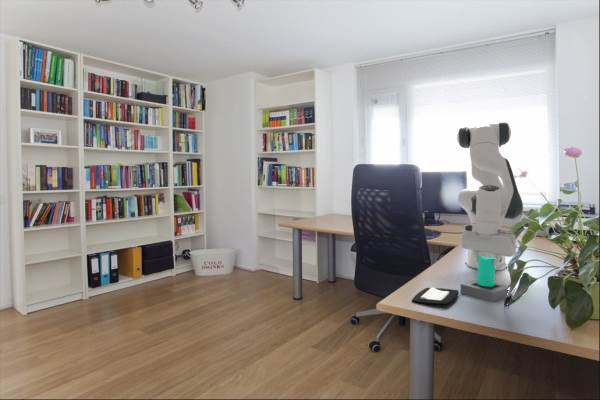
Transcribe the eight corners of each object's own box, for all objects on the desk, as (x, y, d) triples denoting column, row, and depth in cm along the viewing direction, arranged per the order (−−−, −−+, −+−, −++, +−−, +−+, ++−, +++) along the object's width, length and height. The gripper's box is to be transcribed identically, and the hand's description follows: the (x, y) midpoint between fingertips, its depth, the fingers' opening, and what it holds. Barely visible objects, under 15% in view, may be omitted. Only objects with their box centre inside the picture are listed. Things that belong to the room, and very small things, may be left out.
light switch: (424, 284, 154) (461, 287, 146) (425, 291, 154) (461, 294, 146) (408, 298, 138) (448, 301, 130) (408, 305, 138) (448, 310, 130)
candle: (497, 286, 144) (499, 255, 143) (482, 286, 143) (483, 255, 143) (488, 282, 150) (490, 252, 149) (474, 282, 149) (475, 252, 149)
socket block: (479, 287, 156) (479, 278, 156) (511, 295, 145) (512, 286, 145) (460, 292, 149) (460, 283, 149) (492, 302, 138) (492, 292, 138)
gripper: (520, 231, 138) (518, 268, 139) (468, 224, 155) (467, 257, 156) (510, 232, 135) (509, 270, 136) (459, 225, 152) (458, 259, 153)
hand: (486, 263), depth 146 cm, fingers closed on candle, 5 cm apart
